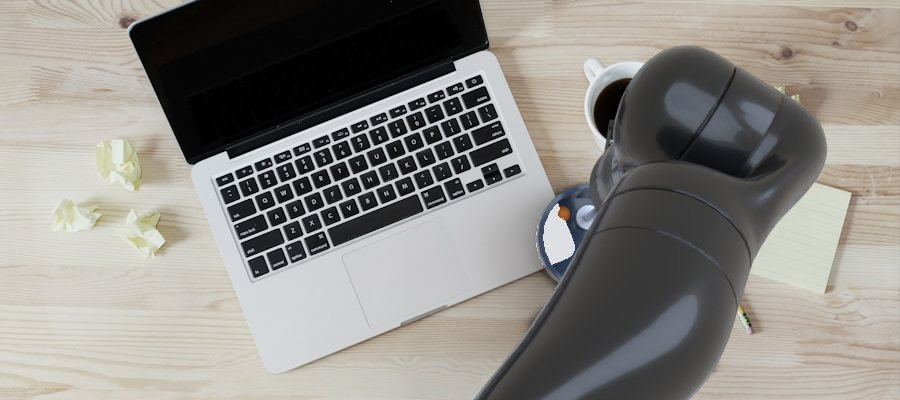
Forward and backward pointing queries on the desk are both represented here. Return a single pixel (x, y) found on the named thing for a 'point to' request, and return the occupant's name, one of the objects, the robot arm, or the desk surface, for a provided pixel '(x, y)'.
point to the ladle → (585, 216)
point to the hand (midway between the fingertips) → (608, 204)
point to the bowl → (573, 202)
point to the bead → (564, 213)
